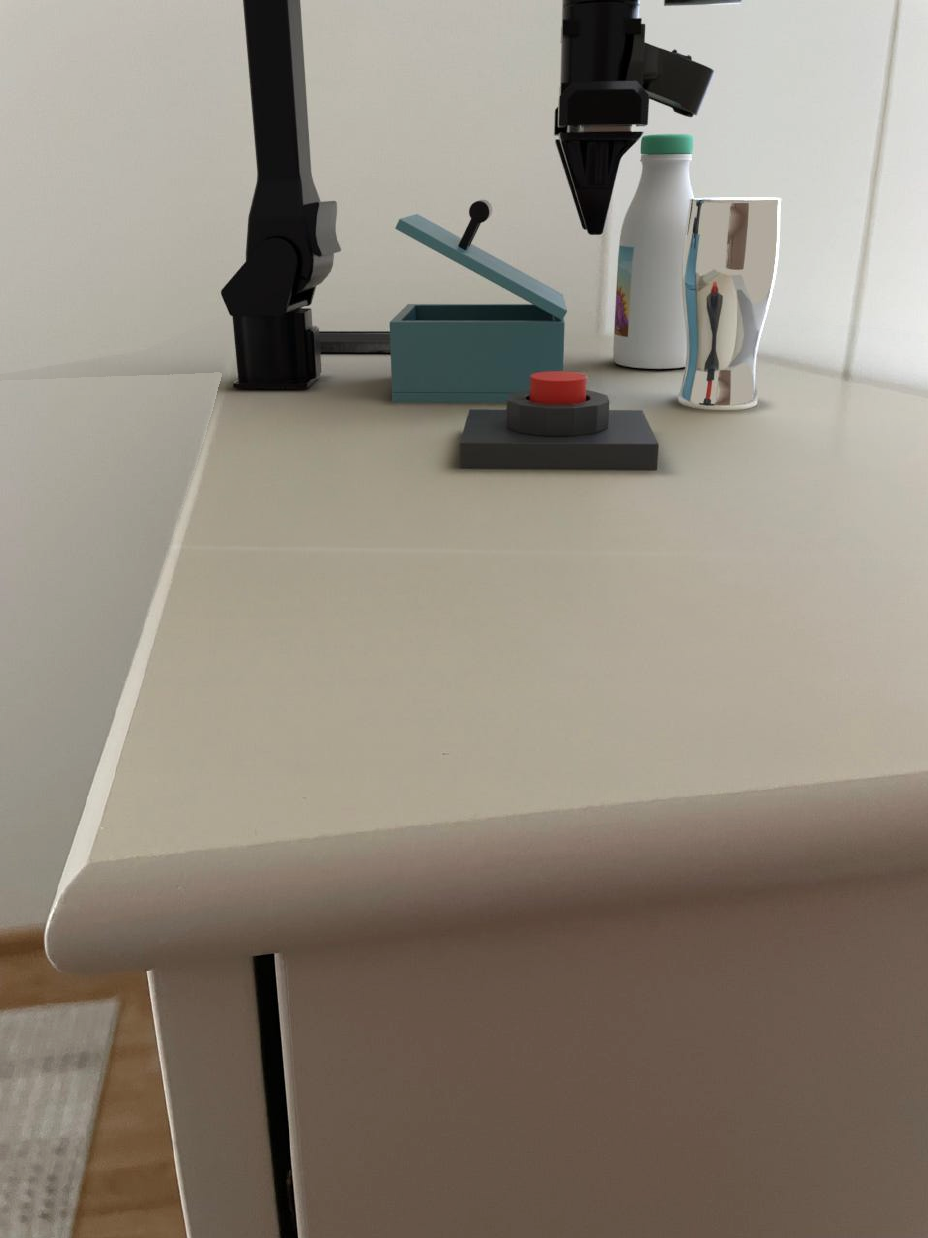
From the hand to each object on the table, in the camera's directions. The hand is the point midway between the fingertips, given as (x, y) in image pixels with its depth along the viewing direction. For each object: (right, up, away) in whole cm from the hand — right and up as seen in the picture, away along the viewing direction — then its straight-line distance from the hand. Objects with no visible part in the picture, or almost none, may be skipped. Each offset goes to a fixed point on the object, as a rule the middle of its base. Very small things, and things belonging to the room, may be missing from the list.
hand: (592, 231), depth 83 cm
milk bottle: (+8, -7, +17) cm, 19 cm away
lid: (-9, -2, +2) cm, 9 cm away
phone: (-21, -2, +27) cm, 35 cm away
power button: (-4, -17, -16) cm, 24 cm away
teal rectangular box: (-9, -11, +5) cm, 15 cm away
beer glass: (+10, -14, -1) cm, 17 cm away
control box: (-4, -20, -15) cm, 25 cm away
